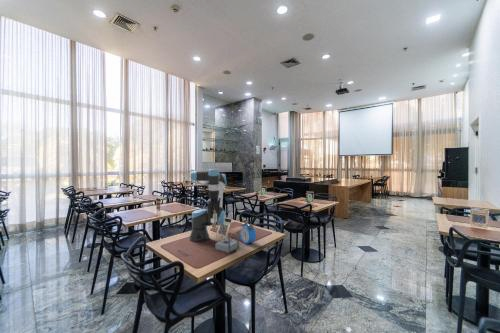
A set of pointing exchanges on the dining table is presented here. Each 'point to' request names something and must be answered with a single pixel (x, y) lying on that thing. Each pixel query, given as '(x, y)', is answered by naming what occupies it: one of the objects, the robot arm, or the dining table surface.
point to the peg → (214, 220)
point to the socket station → (229, 241)
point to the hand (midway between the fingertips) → (213, 222)
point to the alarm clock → (247, 233)
